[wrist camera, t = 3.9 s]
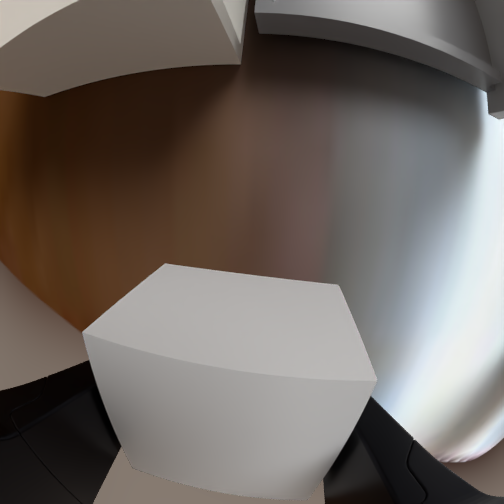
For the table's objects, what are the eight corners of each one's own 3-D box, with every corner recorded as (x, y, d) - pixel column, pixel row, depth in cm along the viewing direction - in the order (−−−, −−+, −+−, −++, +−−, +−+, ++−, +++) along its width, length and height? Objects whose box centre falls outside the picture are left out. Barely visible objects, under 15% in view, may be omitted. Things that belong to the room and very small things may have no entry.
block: (338, 284, 7) (377, 381, 4) (306, 407, 9) (307, 500, 5) (164, 263, 8) (81, 332, 4) (173, 387, 9) (132, 467, 5)
